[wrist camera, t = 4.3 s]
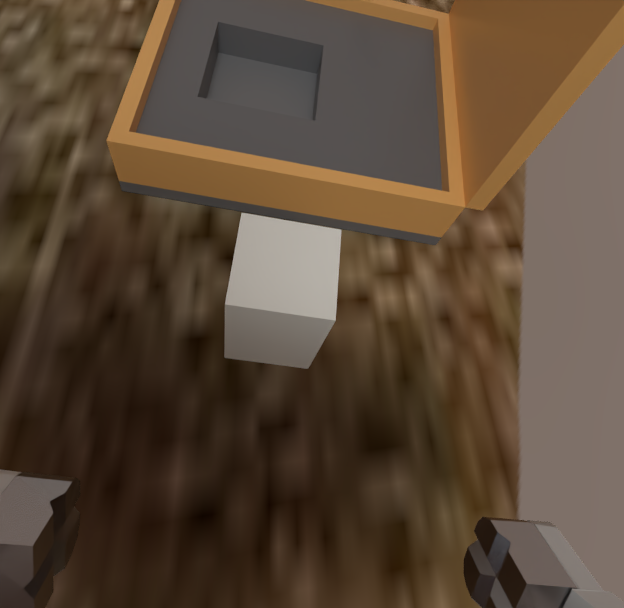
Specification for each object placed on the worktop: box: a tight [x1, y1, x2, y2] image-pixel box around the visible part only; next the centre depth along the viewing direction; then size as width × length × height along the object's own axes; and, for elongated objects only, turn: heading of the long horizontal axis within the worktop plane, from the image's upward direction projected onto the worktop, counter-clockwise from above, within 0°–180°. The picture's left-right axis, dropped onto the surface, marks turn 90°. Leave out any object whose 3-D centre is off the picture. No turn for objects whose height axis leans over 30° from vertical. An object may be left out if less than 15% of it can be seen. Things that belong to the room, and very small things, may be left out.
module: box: [224, 213, 341, 369], centre depth 25 cm, size 5×5×8 cm
